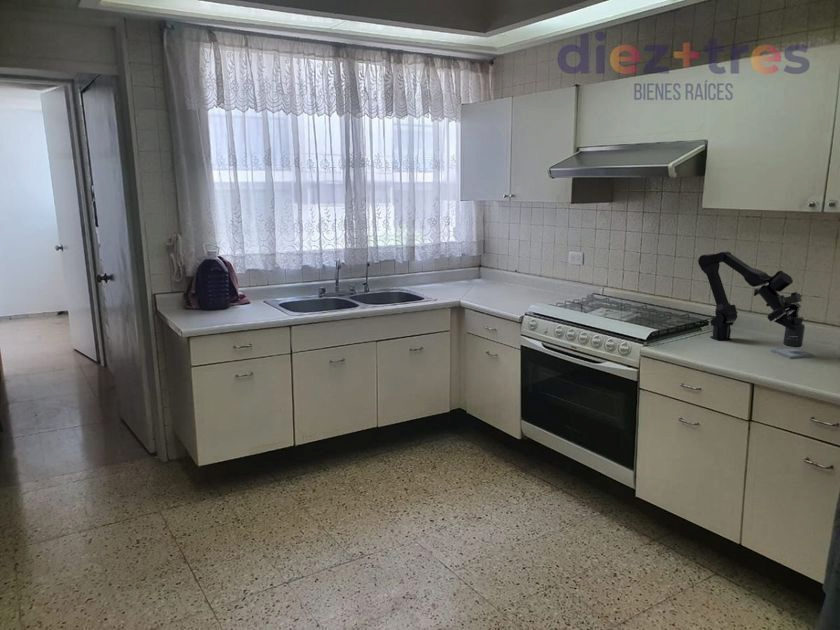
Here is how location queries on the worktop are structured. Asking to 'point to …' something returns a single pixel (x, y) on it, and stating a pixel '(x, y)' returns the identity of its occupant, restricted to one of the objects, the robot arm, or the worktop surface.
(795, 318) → the supplement bottle
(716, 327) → the robot arm
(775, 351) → the plate
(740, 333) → the worktop surface
